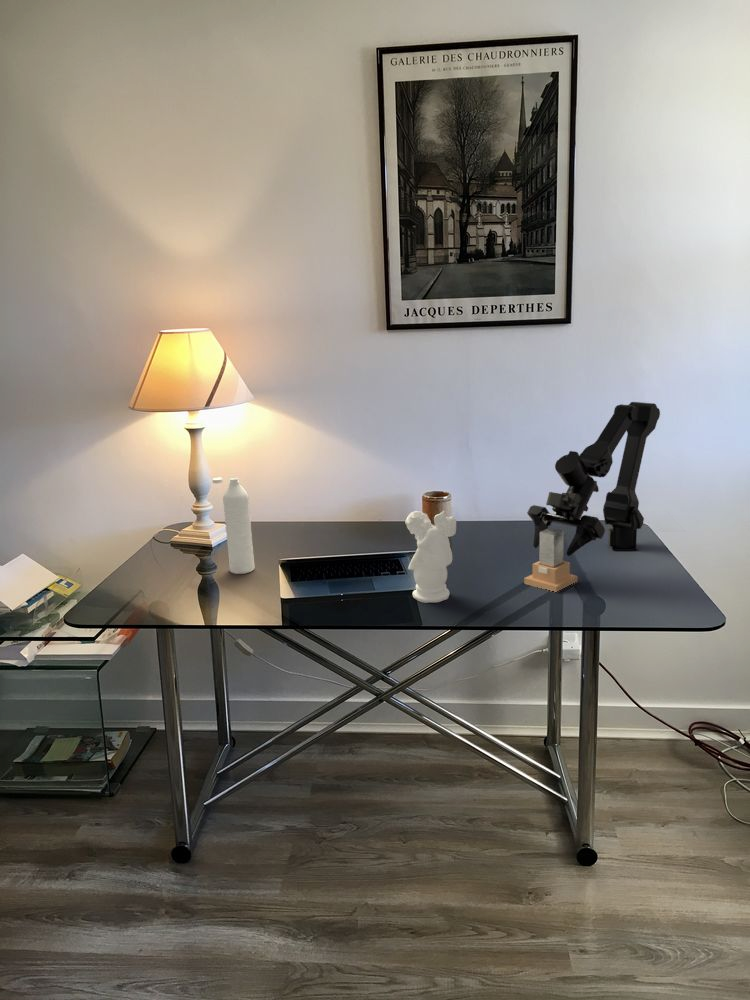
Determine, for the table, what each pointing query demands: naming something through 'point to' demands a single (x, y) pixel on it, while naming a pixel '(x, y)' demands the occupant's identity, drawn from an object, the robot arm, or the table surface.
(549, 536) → the column
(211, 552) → the table surface
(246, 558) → the water bottle
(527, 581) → the stand
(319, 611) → the table surface
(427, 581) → the cherub figurine
